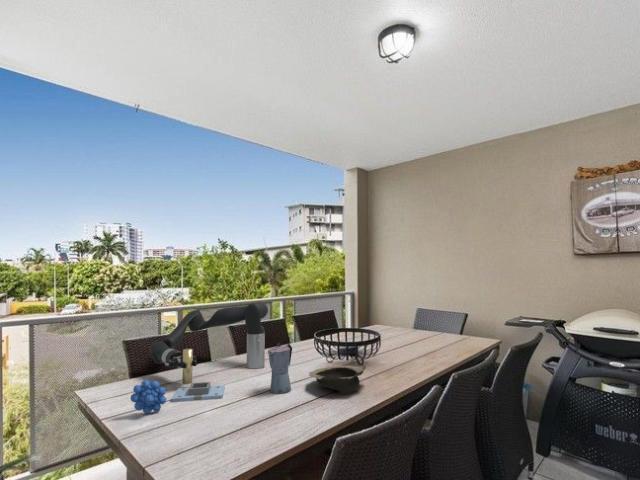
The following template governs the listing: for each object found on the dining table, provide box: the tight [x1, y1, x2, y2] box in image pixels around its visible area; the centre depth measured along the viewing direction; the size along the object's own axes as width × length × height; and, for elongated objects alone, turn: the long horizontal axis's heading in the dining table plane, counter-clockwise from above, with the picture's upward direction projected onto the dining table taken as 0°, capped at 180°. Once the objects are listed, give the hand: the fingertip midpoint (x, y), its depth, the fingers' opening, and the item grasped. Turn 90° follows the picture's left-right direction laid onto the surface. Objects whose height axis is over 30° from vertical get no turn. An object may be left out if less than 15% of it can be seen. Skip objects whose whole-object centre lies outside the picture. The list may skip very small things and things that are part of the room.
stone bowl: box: [308, 365, 366, 396], centre depth 152 cm, size 25×25×9 cm
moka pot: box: [267, 341, 293, 395], centre depth 150 cm, size 10×15×20 cm, turn 152°
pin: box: [181, 348, 194, 385], centre depth 152 cm, size 4×4×14 cm
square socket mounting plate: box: [171, 381, 226, 403], centre depth 144 cm, size 19×12×4 cm, turn 101°
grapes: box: [130, 379, 167, 415], centre depth 124 cm, size 12×7×12 cm, turn 120°
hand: (190, 364), depth 150 cm, fingers closed on pin, 4 cm apart
